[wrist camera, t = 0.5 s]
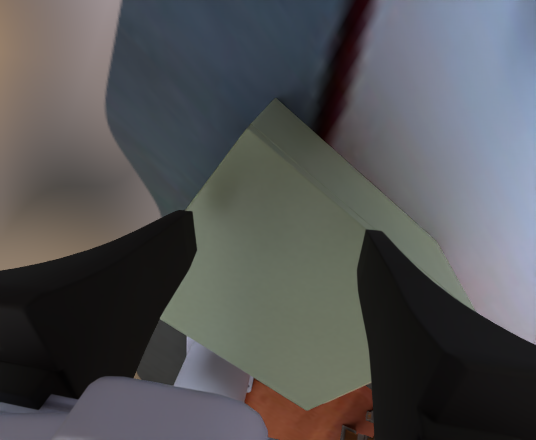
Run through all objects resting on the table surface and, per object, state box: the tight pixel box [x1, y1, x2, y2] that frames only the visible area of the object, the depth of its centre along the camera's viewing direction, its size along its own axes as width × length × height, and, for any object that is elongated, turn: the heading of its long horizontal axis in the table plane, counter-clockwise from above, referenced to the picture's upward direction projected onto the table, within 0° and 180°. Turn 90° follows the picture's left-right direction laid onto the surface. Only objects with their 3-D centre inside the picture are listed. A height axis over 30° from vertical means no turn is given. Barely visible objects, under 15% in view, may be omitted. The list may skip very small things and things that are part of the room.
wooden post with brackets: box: [340, 411, 375, 440], centre depth 34 cm, size 2×8×4 cm, turn 156°
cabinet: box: [160, 98, 476, 411], centre depth 20 cm, size 16×14×8 cm
